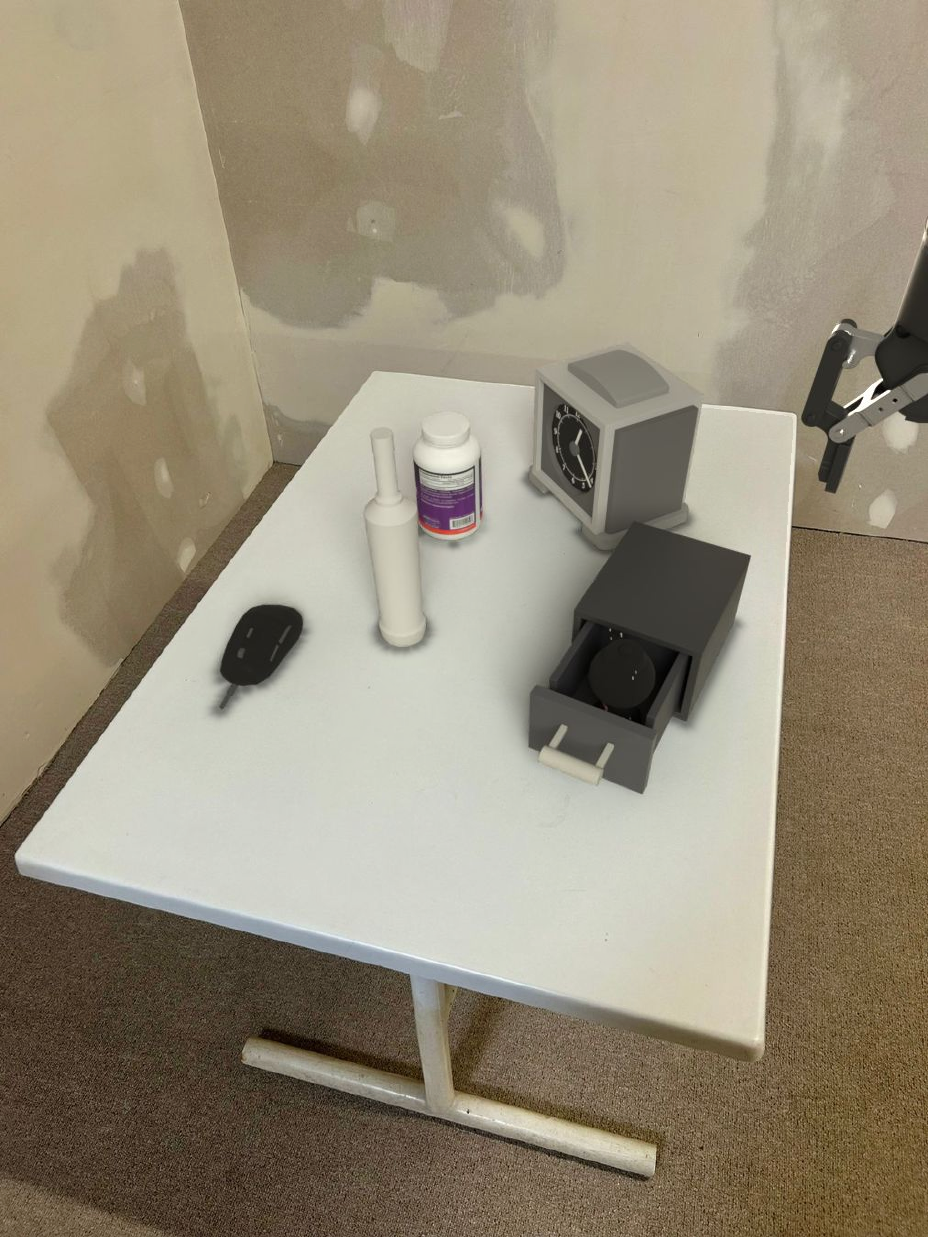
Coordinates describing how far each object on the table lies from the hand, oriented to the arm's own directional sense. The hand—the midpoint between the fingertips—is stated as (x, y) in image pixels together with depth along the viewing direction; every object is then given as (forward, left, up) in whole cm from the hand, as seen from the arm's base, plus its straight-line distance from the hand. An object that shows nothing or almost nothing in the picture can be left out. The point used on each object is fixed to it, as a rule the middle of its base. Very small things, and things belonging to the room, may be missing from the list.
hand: (902, 504), depth 54 cm
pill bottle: (+47, -22, -33) cm, 62 cm away
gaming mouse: (+54, +8, -33) cm, 64 cm away
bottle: (+42, -3, -33) cm, 54 cm away
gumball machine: (+16, 0, -31) cm, 35 cm away
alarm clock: (+32, -36, -33) cm, 59 cm away
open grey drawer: (+17, 0, -32) cm, 36 cm away
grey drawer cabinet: (+17, -13, -33) cm, 39 cm away
